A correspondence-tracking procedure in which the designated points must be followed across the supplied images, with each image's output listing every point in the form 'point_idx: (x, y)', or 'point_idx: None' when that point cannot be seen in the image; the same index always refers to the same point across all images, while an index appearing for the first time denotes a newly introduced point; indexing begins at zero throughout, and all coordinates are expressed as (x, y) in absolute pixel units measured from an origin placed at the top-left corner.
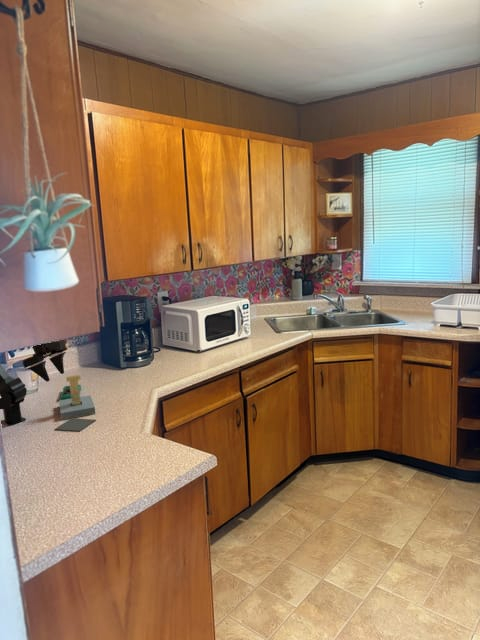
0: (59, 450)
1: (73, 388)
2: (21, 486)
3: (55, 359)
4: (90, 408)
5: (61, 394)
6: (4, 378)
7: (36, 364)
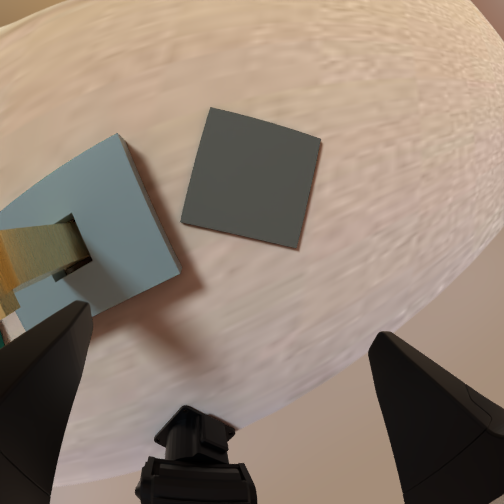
0: (432, 170)
1: (36, 256)
2: None
3: (13, 499)
4: (124, 149)
5: None
6: None
7: None
